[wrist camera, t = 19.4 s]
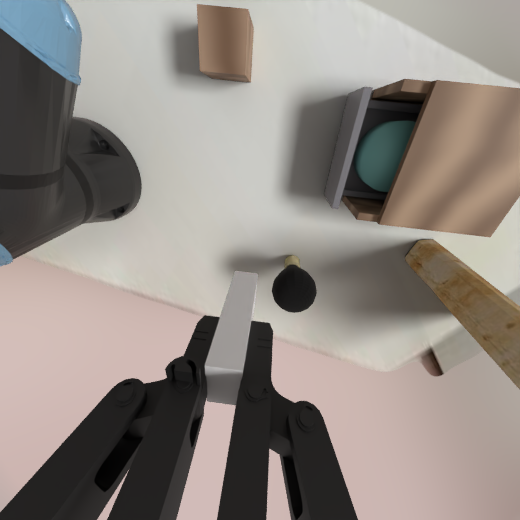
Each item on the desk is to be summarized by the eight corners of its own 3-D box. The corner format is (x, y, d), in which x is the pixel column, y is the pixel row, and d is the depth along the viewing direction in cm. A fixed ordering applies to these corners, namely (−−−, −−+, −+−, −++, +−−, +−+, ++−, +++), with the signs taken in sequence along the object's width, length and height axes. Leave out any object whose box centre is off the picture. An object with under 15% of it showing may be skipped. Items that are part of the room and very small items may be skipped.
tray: (324, 194, 35) (331, 208, 29) (348, 93, 28) (364, 86, 22) (440, 207, 34) (470, 224, 29) (492, 108, 27) (546, 105, 22)
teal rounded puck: (403, 187, 32) (415, 193, 29) (347, 183, 33) (353, 189, 30) (427, 122, 28) (444, 122, 25) (363, 119, 28) (372, 118, 25)
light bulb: (273, 244, 40) (270, 285, 30) (311, 243, 40) (321, 285, 29) (274, 274, 44) (272, 320, 34) (309, 274, 43) (317, 321, 33)
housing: (342, 200, 35) (358, 221, 28) (374, 89, 28) (408, 77, 20) (444, 212, 35) (490, 237, 27) (504, 103, 27) (591, 95, 20)
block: (212, 78, 29) (199, 70, 24) (210, 23, 26) (197, 4, 22) (250, 82, 28) (245, 75, 24) (253, 27, 26) (248, 9, 22)
